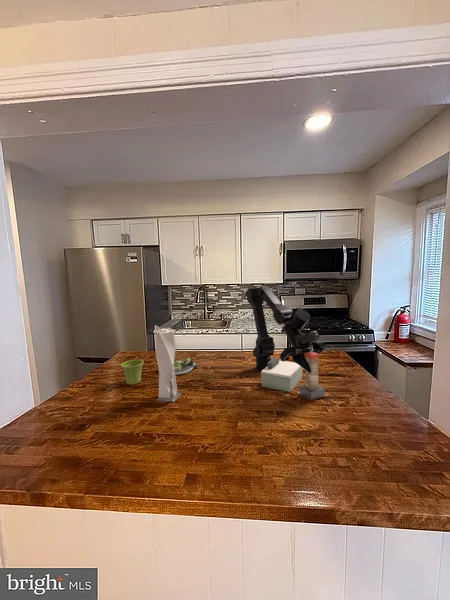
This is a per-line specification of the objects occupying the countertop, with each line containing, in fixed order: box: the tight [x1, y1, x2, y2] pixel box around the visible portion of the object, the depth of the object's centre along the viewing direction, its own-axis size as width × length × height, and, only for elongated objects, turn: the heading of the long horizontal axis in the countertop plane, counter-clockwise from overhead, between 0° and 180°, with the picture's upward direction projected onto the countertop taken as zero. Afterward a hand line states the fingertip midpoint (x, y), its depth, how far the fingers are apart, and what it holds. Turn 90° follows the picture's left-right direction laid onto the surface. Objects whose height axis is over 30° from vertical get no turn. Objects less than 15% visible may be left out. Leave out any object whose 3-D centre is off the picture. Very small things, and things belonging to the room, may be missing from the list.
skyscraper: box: [154, 324, 182, 403], centre depth 109 cm, size 8×8×28 cm
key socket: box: [298, 383, 326, 401], centre depth 107 cm, size 6×6×3 cm
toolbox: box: [260, 367, 303, 393], centre depth 120 cm, size 12×16×5 cm
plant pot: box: [120, 359, 144, 386], centre depth 125 cm, size 9×9×9 cm
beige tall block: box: [305, 352, 320, 391], centre depth 106 cm, size 3×3×14 cm
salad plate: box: [157, 357, 200, 376], centre depth 139 cm, size 19×18×5 cm
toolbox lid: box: [260, 357, 301, 379], centre depth 119 cm, size 12×16×4 cm
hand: (314, 371), depth 105 cm, fingers closed on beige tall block, 3 cm apart
